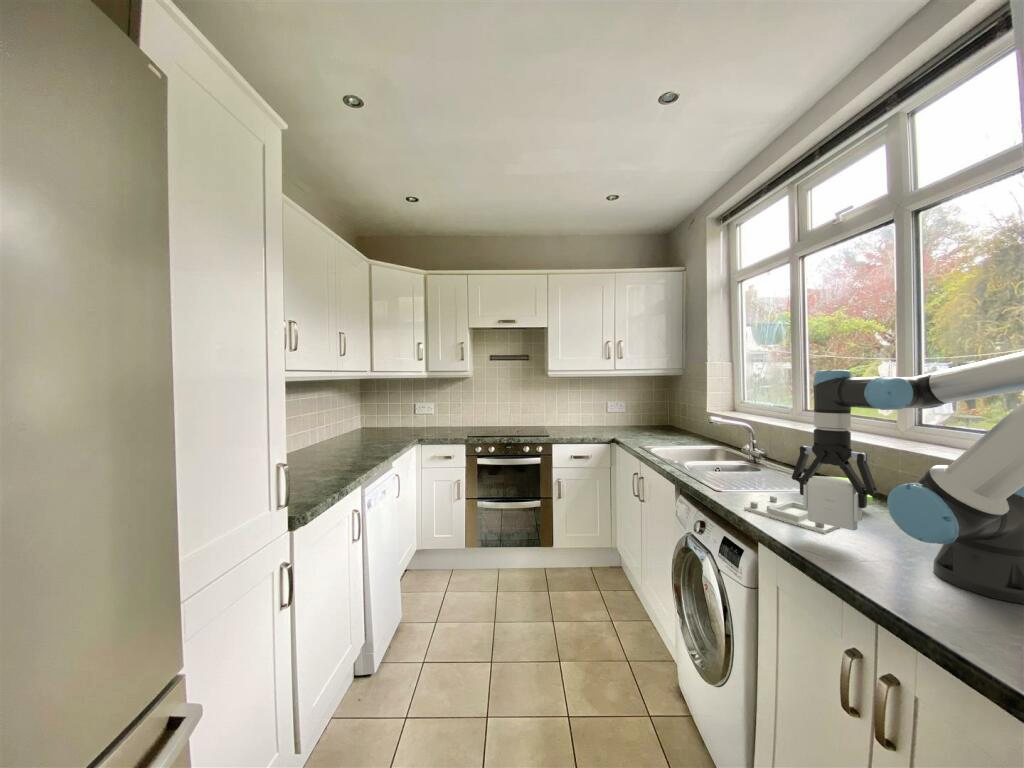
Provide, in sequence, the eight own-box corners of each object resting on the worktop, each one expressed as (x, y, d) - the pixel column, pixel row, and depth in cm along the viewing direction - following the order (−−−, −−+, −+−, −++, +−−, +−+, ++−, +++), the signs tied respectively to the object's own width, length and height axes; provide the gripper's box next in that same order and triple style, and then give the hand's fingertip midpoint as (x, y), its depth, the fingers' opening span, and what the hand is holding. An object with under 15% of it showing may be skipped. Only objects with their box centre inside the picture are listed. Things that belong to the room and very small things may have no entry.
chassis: (849, 523, 117) (849, 514, 117) (824, 533, 109) (824, 525, 109) (770, 501, 136) (770, 494, 136) (744, 509, 128) (744, 502, 128)
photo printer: (805, 521, 105) (805, 475, 105) (809, 517, 108) (809, 472, 108) (855, 532, 97) (855, 482, 97) (859, 528, 100) (859, 480, 100)
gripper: (895, 432, 94) (895, 524, 94) (790, 424, 114) (790, 500, 114) (884, 434, 90) (883, 530, 91) (776, 425, 110) (776, 504, 110)
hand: (831, 513), depth 102 cm, fingers closed on photo printer, 10 cm apart
